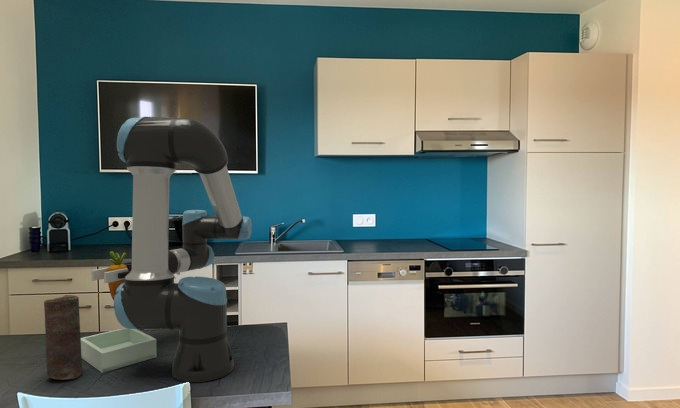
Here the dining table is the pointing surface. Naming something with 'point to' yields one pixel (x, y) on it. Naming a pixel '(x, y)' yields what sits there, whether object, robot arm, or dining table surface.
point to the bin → (117, 349)
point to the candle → (63, 337)
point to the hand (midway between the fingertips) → (98, 276)
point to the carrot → (115, 266)
